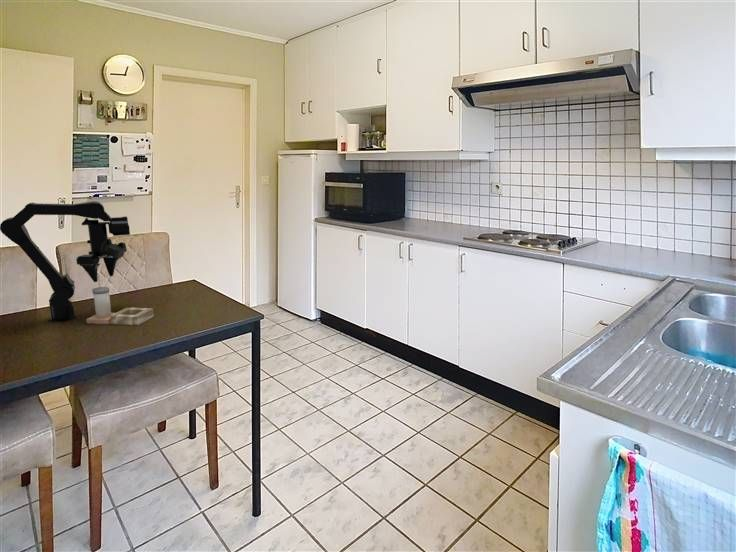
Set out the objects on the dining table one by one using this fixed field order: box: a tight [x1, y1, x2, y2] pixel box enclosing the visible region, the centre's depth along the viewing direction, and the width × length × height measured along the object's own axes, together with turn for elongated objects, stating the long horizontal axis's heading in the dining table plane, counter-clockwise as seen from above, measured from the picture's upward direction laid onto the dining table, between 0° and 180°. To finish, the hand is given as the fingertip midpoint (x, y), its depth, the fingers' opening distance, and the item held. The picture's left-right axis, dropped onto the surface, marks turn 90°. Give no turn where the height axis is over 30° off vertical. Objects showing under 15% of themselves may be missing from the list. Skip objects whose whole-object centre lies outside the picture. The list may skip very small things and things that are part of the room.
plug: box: [91, 286, 112, 318], centre depth 171 cm, size 5×5×10 cm
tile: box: [85, 312, 116, 325], centre depth 172 cm, size 8×8×2 cm
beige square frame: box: [110, 307, 154, 326], centre depth 172 cm, size 10×10×3 cm
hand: (103, 278), depth 178 cm, fingers open, 9 cm apart
